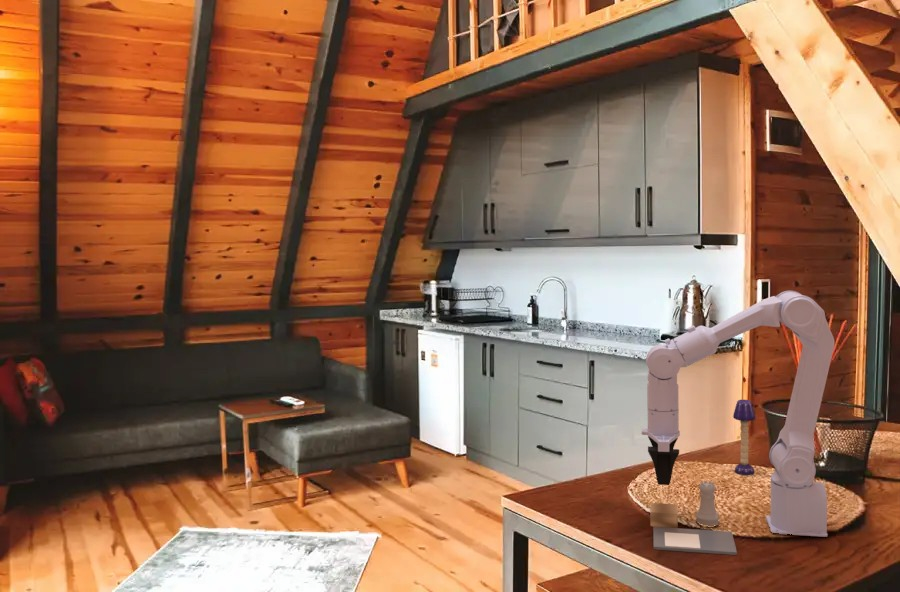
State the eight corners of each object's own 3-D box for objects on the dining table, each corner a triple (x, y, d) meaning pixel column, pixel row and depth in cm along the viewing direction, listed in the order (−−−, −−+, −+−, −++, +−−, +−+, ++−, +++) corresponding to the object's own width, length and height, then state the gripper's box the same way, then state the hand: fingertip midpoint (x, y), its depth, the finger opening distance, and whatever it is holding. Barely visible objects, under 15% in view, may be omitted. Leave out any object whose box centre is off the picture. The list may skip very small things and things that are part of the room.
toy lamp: (758, 475, 174) (758, 402, 173) (737, 476, 174) (737, 403, 173) (750, 468, 179) (750, 397, 177) (730, 469, 179) (730, 398, 177)
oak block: (677, 519, 152) (677, 504, 152) (677, 529, 147) (677, 513, 147) (651, 517, 153) (650, 502, 153) (650, 527, 149) (650, 512, 148)
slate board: (731, 534, 144) (731, 531, 143) (736, 555, 135) (736, 551, 135) (653, 529, 147) (653, 526, 147) (653, 549, 138) (653, 546, 138)
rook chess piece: (721, 528, 146) (721, 487, 145) (696, 527, 147) (696, 486, 146) (717, 519, 151) (717, 479, 150) (693, 518, 151) (693, 478, 151)
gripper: (641, 398, 156) (642, 464, 158) (640, 417, 142) (641, 489, 144) (678, 399, 154) (678, 466, 156) (681, 418, 140) (681, 491, 142)
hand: (663, 477), depth 150 cm, fingers open, 7 cm apart
